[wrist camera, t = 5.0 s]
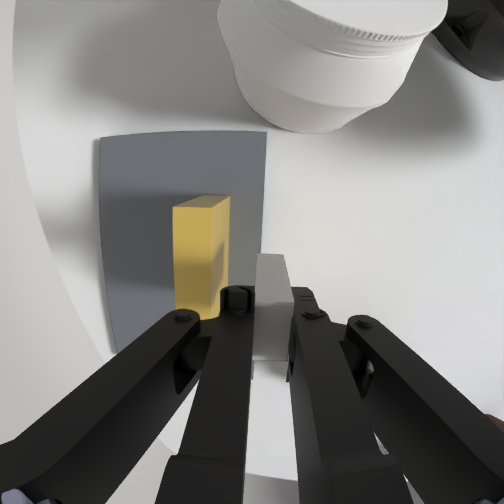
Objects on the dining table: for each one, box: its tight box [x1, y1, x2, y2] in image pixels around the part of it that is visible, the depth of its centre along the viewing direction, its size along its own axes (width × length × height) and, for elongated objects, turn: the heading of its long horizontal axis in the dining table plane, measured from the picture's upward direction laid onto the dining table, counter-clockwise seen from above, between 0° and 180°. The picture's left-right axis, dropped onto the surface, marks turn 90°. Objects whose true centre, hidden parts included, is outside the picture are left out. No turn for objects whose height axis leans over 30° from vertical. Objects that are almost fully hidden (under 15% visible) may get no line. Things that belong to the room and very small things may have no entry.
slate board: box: [99, 131, 267, 379], centre depth 24 cm, size 22×14×1 cm, turn 177°
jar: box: [217, 0, 448, 134], centre depth 13 cm, size 12×10×15 cm
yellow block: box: [173, 195, 230, 320], centre depth 19 cm, size 8×2×8 cm, turn 177°
